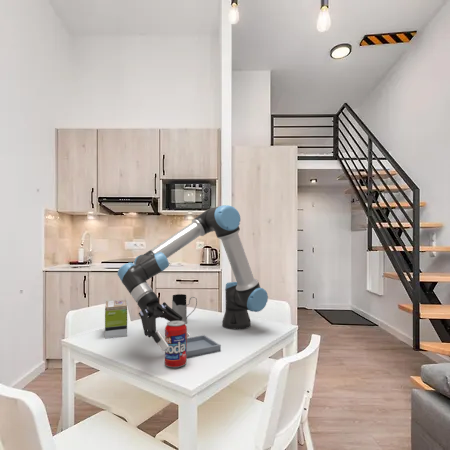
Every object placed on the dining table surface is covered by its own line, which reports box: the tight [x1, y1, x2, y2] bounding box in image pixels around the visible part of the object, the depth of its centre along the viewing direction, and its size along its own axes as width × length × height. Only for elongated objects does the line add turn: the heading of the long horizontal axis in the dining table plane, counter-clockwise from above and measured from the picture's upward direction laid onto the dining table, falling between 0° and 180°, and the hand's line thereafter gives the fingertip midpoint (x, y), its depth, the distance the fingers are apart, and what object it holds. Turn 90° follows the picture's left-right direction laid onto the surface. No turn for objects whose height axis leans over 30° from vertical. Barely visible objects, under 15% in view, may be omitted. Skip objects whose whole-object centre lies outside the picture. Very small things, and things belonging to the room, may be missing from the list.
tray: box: [187, 334, 222, 359], centre depth 124 cm, size 15×15×2 cm
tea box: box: [104, 299, 128, 339], centre depth 145 cm, size 15×10×15 cm, turn 21°
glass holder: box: [171, 293, 198, 325], centre depth 164 cm, size 9×14×15 cm, turn 107°
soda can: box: [164, 321, 188, 369], centre depth 108 cm, size 8×8×15 cm
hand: (177, 343), depth 107 cm, fingers open, 13 cm apart
